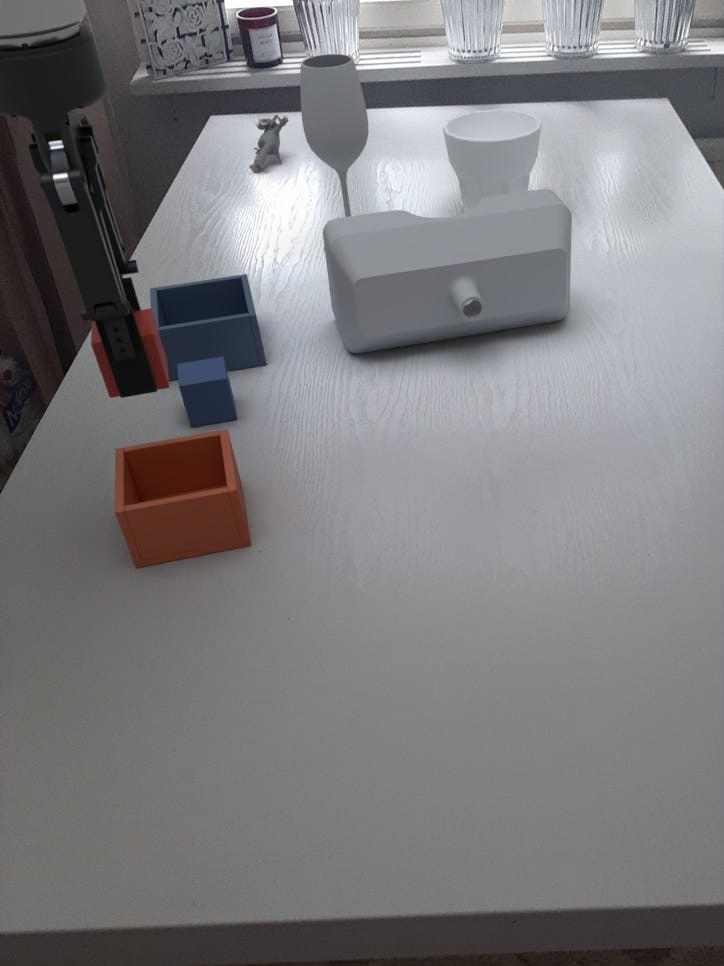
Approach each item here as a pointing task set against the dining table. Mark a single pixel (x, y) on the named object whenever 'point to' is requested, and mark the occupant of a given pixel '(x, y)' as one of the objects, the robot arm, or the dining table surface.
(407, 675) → the dining table surface
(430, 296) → the tank
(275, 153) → the elephant figurine
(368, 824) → the dining table surface
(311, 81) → the wineglass
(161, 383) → the red block
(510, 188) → the cup
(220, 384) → the blue block
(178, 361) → the slate bin
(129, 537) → the terracotta bin
